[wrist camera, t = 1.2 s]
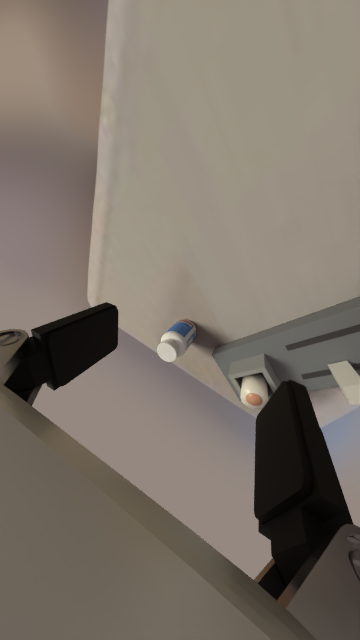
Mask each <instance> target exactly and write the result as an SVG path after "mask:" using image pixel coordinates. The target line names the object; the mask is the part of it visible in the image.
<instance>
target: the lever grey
mask: <svg viewBox="0 0 360 640" xmlns="http://www.w3.org/2000/svg"><path fill="white" fill-rule="evenodd" d="M328 367H329V369H330V371H331V373H332V375H333V377H334V379H335V380H336V382H337V384H338V386H339V387H340V389H341V391H342V392H343V394H344V396H345V397H346V399H347V401H348V402H349V404H350V405H357V404H360V376H359V375H358V374H357V372H356V371H355V370H354V369H353V367H352V366H351V365H350V364H349V363H348V361H343V362H338V363H333V364H328Z"/></svg>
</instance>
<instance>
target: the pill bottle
mask: <svg viewBox="0 0 360 640" xmlns="http://www.w3.org/2000/svg"><path fill="white" fill-rule="evenodd" d="M196 332H197V331H196V327H195V325H194V324H193V323H192V322H191V321H189V320H185V319H183V320H179V321H178V322H176V323H175V324H174V325H173V326H172V327H171V328H170V329H169V330H168V331H167V332H166V333H165V334H164V335H163V336H162V338H161V343H160V344H159V345H158V348H157V352H158V355H159V356H160V357H161V358H162V359H163V360H165V361H167V362H172V361H174V360H175V359H176V358H177V357H179V356H181V355H183V354H184V353H185V351H186V350H187V349H188V347H189V346H190V344H191V343H192V341H193V340H194V338H195V336H196Z"/></svg>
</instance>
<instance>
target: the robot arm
mask: <svg viewBox="0 0 360 640" xmlns="http://www.w3.org/2000/svg"><path fill="white" fill-rule="evenodd" d="M31 332H32V335H33V336H32V337H30V338H29V336H28V333H27V332H26V331H24V330H20V329H9V330H3V331H0V640H360V527H358V526H356V525H353V522H352V519H351V516H350V513H349V510H348V507H347V504H346V501H345V499H344V495H343V493H342V489H341V486H340V484H339V480H338V477H337V474H336V472H335V469H334V466H333V463H332V460H331V457H330V454H329V451H328V448H327V445H326V442H325V439H324V436H323V433H322V431H321V429H320V427H319V424H318V421H317V418H316V415H315V412H314V409H313V406H312V403H311V400H310V397H309V394H308V391H307V388H306V386H304V385H302V384H300V383H297V382H295V381H293V380H288V381H282V382H281V384H280V385H279V387H278V388H277V389H276V391H275V392H274V394H273V395H272V396H271V398H270V399H269V400H268V402H267V403H266V405H265V406H264V407H263V409H262V410H261V412H260V413H259V414H258V416H257V419H256V442H255V490H254V513H255V517H256V518H257V519H258V520H259V532H260V533H261V534H262V535H264V536H265V537H267V538H268V539H270V540H271V553H272V557H273V558H272V559H271V561H270V562H269V563H268V564H267V565H266V566H265V567H264V569H263V570H262V571H261V572H260V573H259V574H258V576H257V577H256V578H255V579H254V580H253V579H251V578H250V577H249V576H248V575H246V574H245V573H244V572H243V571H242V570H240V569H239V568H238V567H237V566H235V565H234V564H233V563H232V562H230V561H229V560H228V559H227V558H225V557H224V556H223V555H222V554H220V553H219V552H218V551H217V550H216V549H214V548H213V547H212V546H211V545H209V544H208V543H207V542H206V541H204V540H203V539H202V538H201V537H200V536H198V535H197V534H196V533H195V532H193V531H192V530H191V529H189V528H188V527H187V526H185V525H184V524H183V523H182V522H181V521H179V520H178V519H177V518H175V517H174V516H173V515H172V514H170V513H169V512H168V511H166V510H165V509H164V508H162V507H161V506H160V505H159V504H157V503H156V502H155V501H154V500H152V499H151V498H150V497H148V496H147V495H146V494H145V493H143V492H142V491H141V490H139V489H138V488H137V487H136V486H134V485H133V484H132V483H130V482H129V481H128V480H127V479H125V478H124V477H123V476H122V475H120V474H119V473H118V472H116V471H115V470H114V469H112V468H111V467H110V466H108V465H107V464H106V463H105V462H103V461H102V460H101V459H99V458H98V457H97V456H96V455H94V454H93V453H92V452H90V451H89V450H88V449H87V448H85V447H84V446H83V445H81V444H80V443H79V442H77V441H76V440H75V439H74V438H72V437H71V436H70V435H68V434H67V433H66V432H64V431H63V430H62V429H61V428H59V427H58V426H57V425H55V424H54V423H53V422H51V421H50V420H49V419H48V418H46V417H45V416H44V415H42V414H41V413H40V412H38V411H37V410H36V409H34V408H33V407H32V404H33V403H34V400H35V399H36V397H37V394H38V392H39V390H40V388H41V386H42V384H44V383H45V382H46V384H47V386H48V387H50V388H51V389H53V390H56V389H57V388H59V387H60V386H64V385H66V384H67V383H69V382H70V381H71V380H73V379H74V378H75V377H77V376H78V375H80V374H81V373H82V372H84V371H85V370H87V369H88V368H90V367H91V366H92V365H94V364H95V363H97V362H98V361H99V360H101V359H102V358H104V357H105V356H106V355H108V354H109V353H111V352H112V351H114V350H115V349H116V347H117V345H118V310H117V307H116V306H115V305H112V304H110V303H103V304H100V305H98V306H95V307H92V308H89V309H87V310H84V311H81V312H78V313H76V314H73V315H70V316H67V317H65V318H62V319H59V320H57V321H54V322H51V323H48V324H45V325H43V326H40V327H37V328H34V329H32V330H31Z"/></svg>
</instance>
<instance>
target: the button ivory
mask: <svg viewBox="0 0 360 640" xmlns="http://www.w3.org/2000/svg"><path fill="white" fill-rule="evenodd" d="M240 398H241V401H242V402H243V403H244V404H245V405H246V406H248V407H250V408H252V409H263V407H264V406H265V405H266V403H267V402H268V389H267V381H266V379H265V378H264V377H263V376H262V375H260V374H258V373H256V374H252V375H247V376H243V378H242V386H241V395H240Z"/></svg>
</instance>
